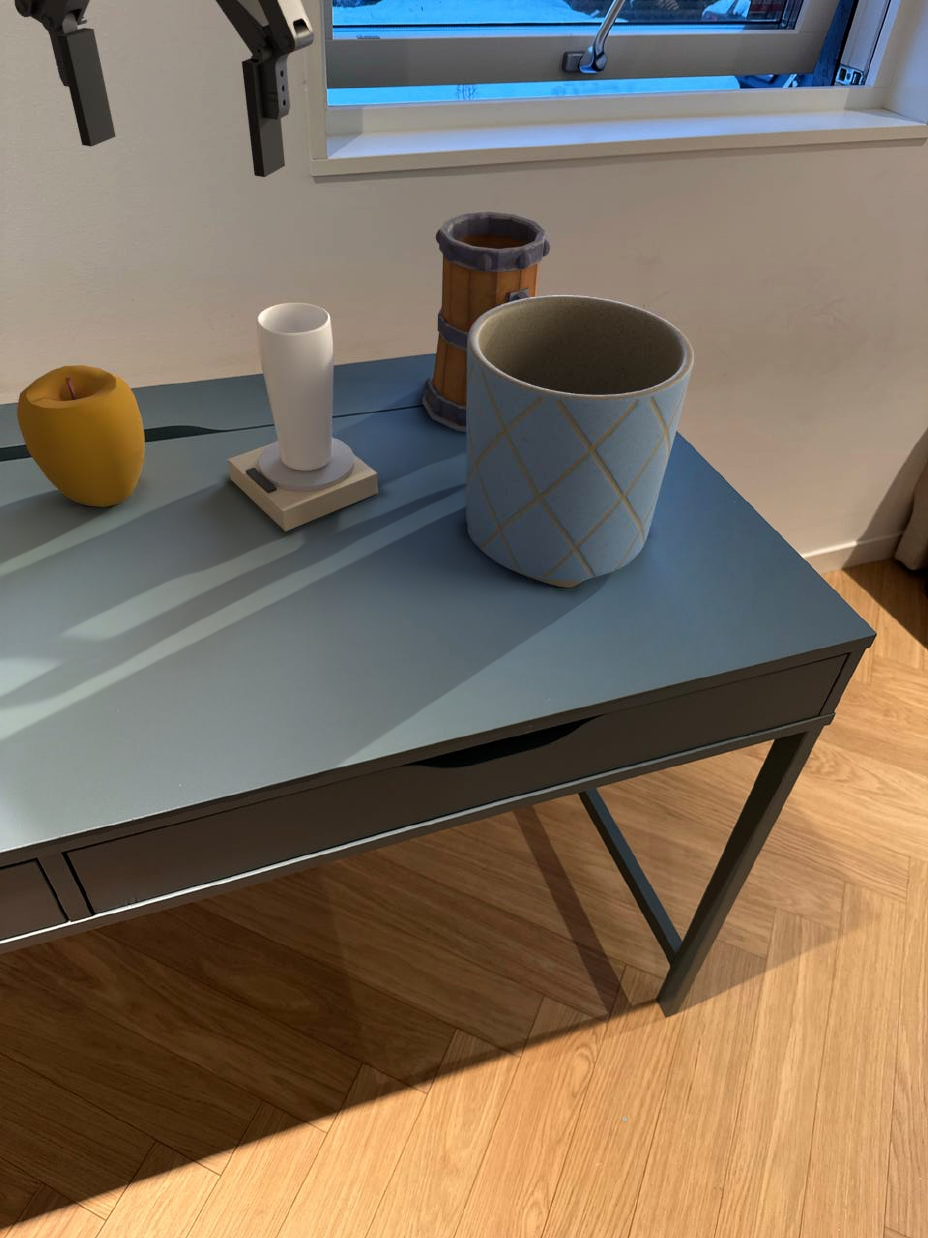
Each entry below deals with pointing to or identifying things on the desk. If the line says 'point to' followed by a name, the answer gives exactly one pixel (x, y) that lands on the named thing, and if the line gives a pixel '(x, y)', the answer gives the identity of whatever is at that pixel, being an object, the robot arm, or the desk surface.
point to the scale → (302, 484)
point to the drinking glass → (299, 381)
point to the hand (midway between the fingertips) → (182, 155)
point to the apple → (84, 433)
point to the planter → (569, 432)
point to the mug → (477, 294)
